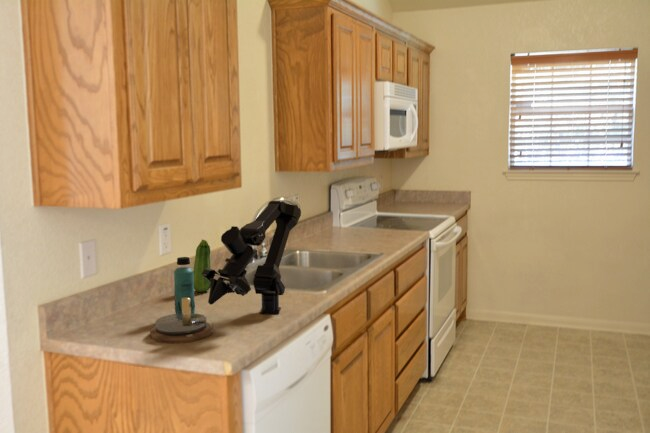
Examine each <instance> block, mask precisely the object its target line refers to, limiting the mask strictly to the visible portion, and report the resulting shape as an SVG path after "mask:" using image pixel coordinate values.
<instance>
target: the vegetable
mask: <svg viewBox="0 0 650 433" xmlns="http://www.w3.org/2000/svg"><path fill="white" fill-rule="evenodd" d="M210 255H211V246H210V245H209V242H208V241H207V240H206V239H203V238H202V239H201V241H200V242H199V244H198V246H196V249H195V255H194V256H195V257H194V264H193V271H194V272H193V278H194V291H195V292H198V293H203V292H206V291H210V287H211V283H210V282H209V281H208V280H207V279H206V278H205V277H204V276H203V275H202V272H203V271H204V269H208V268H209V269H212V267H211V256H210Z"/></svg>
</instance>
